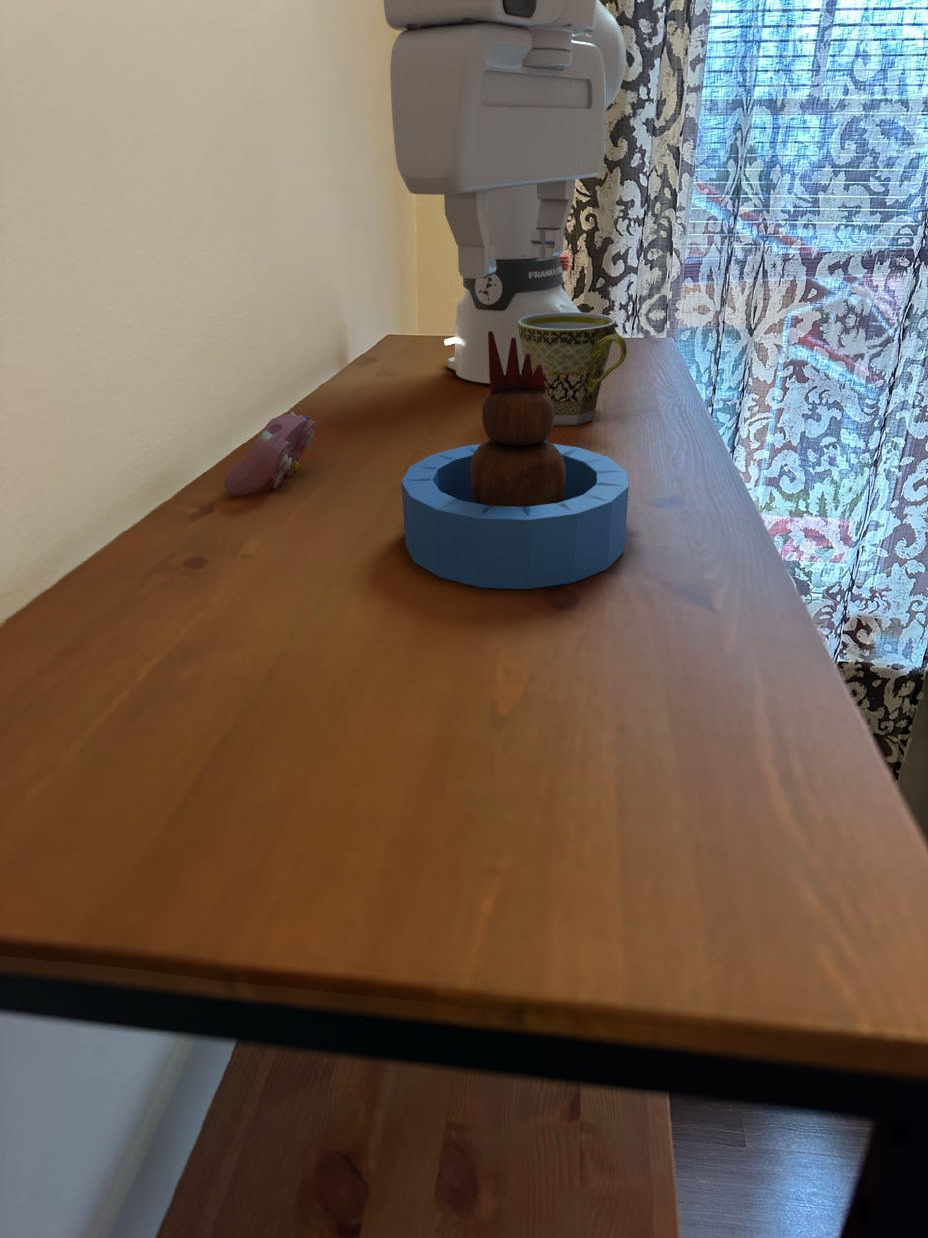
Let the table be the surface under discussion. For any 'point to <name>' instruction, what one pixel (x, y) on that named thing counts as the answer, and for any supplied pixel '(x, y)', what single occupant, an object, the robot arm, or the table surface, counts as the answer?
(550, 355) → the ceramic cup
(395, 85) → the robot arm
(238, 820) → the table surface
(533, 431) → the wooden figurine
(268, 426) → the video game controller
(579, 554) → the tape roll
